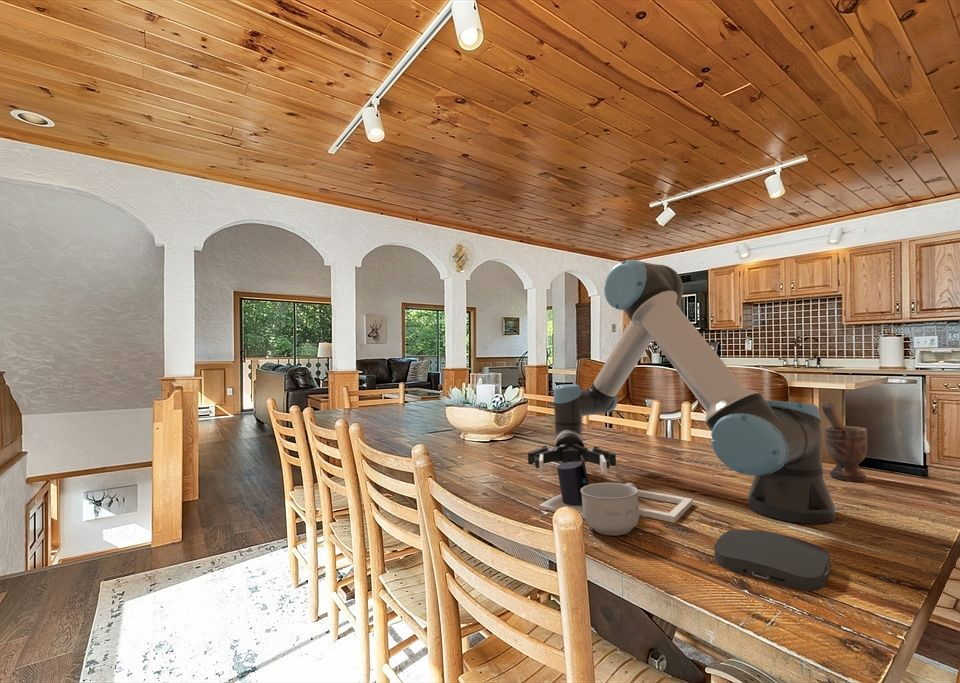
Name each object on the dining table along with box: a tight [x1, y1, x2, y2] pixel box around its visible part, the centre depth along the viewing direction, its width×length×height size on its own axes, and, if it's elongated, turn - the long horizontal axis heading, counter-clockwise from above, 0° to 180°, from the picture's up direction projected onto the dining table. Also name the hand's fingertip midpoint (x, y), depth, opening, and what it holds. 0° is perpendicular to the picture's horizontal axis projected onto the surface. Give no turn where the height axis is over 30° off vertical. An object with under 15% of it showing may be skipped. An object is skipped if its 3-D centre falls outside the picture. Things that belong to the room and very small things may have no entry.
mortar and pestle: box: [821, 402, 868, 483], centre depth 116 cm, size 12×9×20 cm
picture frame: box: [637, 488, 694, 524], centre depth 99 cm, size 14×14×1 cm
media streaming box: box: [713, 529, 832, 592], centre depth 72 cm, size 15×15×3 cm
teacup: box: [581, 482, 640, 537], centre depth 88 cm, size 14×11×8 cm
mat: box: [538, 493, 585, 520], centre depth 100 cm, size 11×11×1 cm
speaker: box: [556, 455, 590, 505], centre depth 101 cm, size 8×6×10 cm
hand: (572, 467), depth 97 cm, fingers open, 13 cm apart
